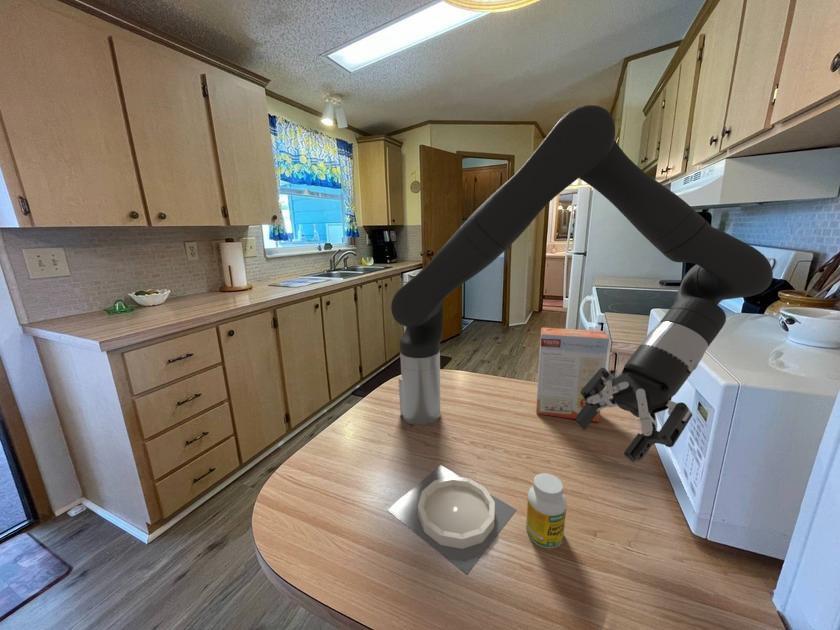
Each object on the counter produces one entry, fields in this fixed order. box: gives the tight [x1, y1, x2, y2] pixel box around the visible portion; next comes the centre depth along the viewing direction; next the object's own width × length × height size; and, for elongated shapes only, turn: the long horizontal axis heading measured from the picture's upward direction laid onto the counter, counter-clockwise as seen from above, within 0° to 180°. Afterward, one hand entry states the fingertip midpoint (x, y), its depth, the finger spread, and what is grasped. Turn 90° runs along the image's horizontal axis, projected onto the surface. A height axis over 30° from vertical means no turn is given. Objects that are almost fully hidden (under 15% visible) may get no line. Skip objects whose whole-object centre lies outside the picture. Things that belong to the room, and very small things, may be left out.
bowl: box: [418, 476, 495, 549], centre depth 55 cm, size 12×12×2 cm
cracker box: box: [535, 326, 610, 423], centre depth 81 cm, size 14×6×21 cm, turn 71°
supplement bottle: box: [525, 473, 567, 549], centre depth 50 cm, size 5×5×10 cm
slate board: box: [386, 464, 517, 575], centre depth 56 cm, size 16×14×1 cm
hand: (602, 441), depth 52 cm, fingers open, 8 cm apart
